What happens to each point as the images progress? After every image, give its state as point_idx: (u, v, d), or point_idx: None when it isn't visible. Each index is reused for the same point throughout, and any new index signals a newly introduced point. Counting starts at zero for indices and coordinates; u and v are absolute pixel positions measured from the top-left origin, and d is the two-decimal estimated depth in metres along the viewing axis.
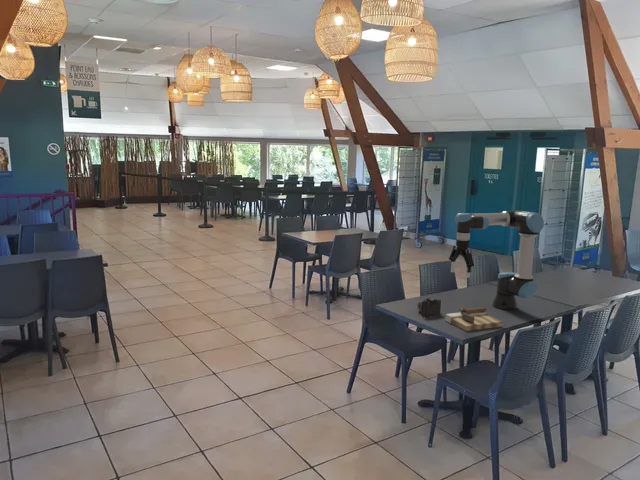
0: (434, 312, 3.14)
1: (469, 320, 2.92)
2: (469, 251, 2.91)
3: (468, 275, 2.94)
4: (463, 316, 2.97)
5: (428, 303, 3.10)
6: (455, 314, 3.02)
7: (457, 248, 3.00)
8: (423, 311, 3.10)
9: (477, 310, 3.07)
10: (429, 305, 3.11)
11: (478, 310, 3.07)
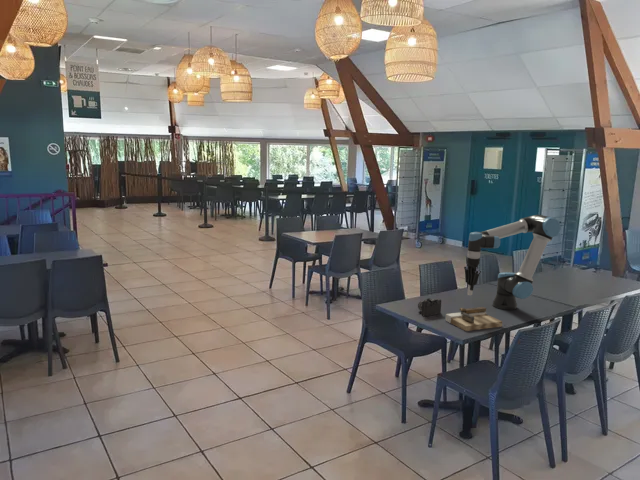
0: (434, 312, 3.13)
1: (469, 320, 2.92)
2: (478, 272, 3.06)
3: (471, 293, 3.13)
4: (463, 316, 2.97)
5: (428, 303, 3.10)
6: (455, 314, 3.02)
7: (468, 265, 3.13)
8: (423, 311, 3.10)
9: (477, 310, 3.07)
10: (429, 305, 3.10)
11: (478, 310, 3.07)
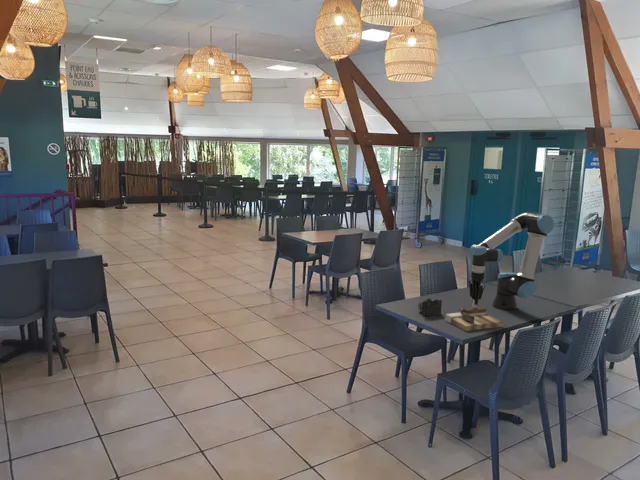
0: (435, 312, 3.13)
1: (469, 320, 2.92)
2: (482, 287, 3.02)
3: (475, 307, 3.09)
4: (463, 316, 2.97)
5: (429, 303, 3.09)
6: (455, 314, 3.02)
7: (472, 279, 3.09)
8: (424, 311, 3.10)
9: (477, 310, 3.06)
10: (430, 305, 3.10)
11: (478, 310, 3.07)
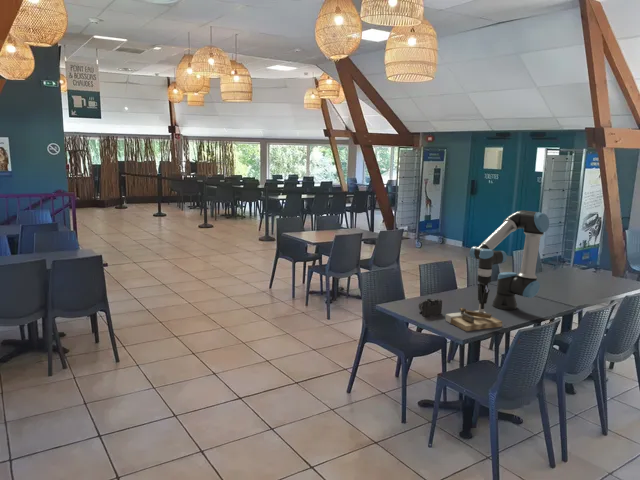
0: (435, 312, 3.13)
1: (469, 320, 2.92)
2: (486, 291, 2.94)
3: (482, 311, 3.01)
4: (463, 316, 2.97)
5: (429, 303, 3.09)
6: (455, 314, 3.02)
7: (480, 283, 3.02)
8: (424, 311, 3.10)
9: (478, 314, 2.99)
10: (430, 305, 3.10)
11: (480, 315, 2.98)
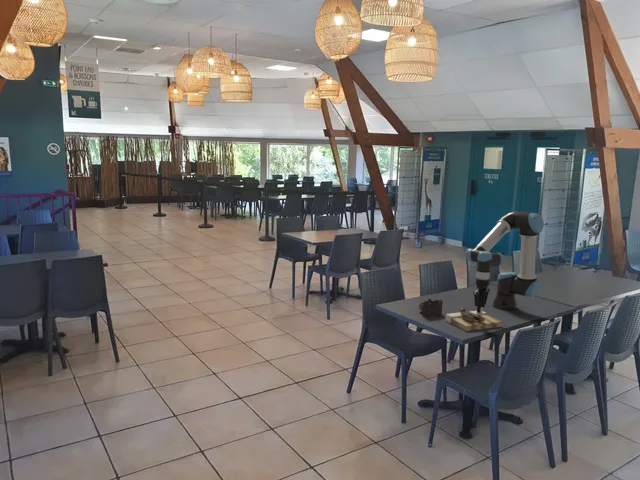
0: (435, 313, 3.13)
1: (469, 320, 2.92)
2: (474, 293, 2.89)
3: (479, 315, 2.95)
4: (463, 316, 2.97)
5: (429, 304, 3.09)
6: (455, 314, 3.02)
7: None
8: (424, 312, 3.09)
9: None
10: (430, 306, 3.10)
11: None
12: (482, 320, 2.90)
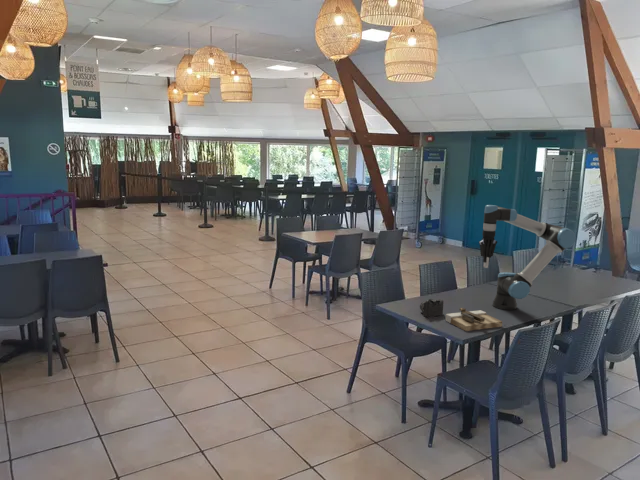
0: (436, 313, 3.12)
1: (469, 320, 2.92)
2: (480, 243, 3.11)
3: (485, 265, 3.15)
4: (463, 316, 2.97)
5: (430, 304, 3.08)
6: (455, 314, 3.02)
7: None
8: (425, 312, 3.09)
9: None
10: (431, 306, 3.09)
11: None
12: (482, 320, 2.90)
